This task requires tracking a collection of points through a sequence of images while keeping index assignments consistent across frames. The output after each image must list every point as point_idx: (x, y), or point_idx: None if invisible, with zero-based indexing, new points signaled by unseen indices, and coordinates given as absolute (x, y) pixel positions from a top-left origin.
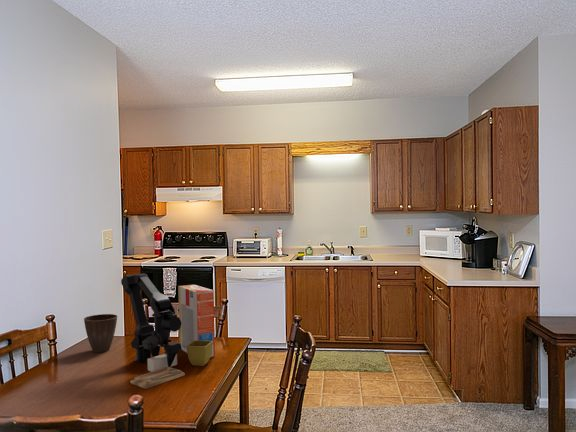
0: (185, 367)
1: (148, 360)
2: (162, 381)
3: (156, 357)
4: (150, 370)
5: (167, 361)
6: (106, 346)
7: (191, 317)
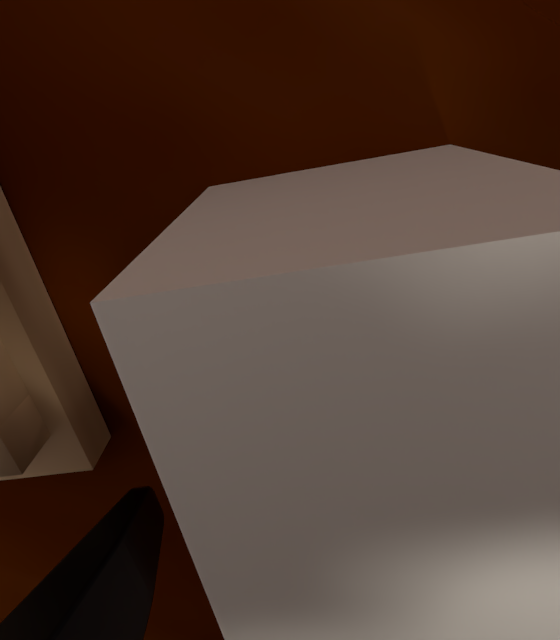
0: None
1: (552, 207)
2: None
3: (447, 573)
4: (333, 167)
5: (69, 594)
6: None
7: None
